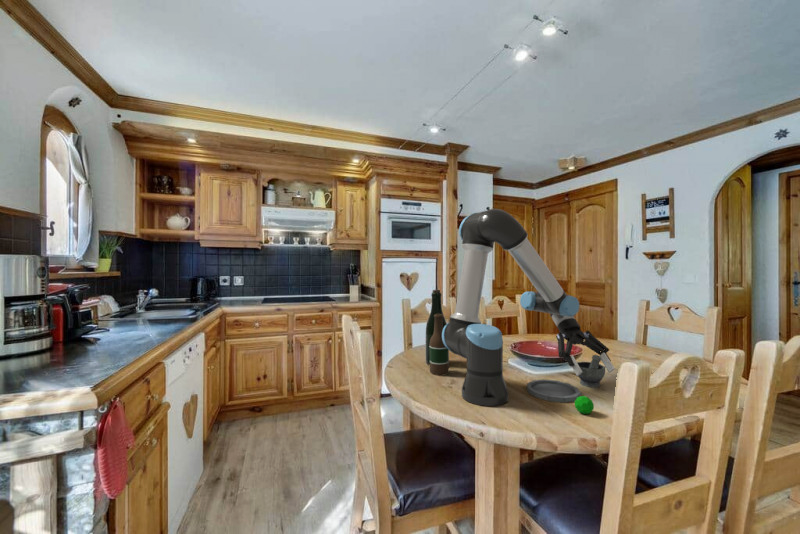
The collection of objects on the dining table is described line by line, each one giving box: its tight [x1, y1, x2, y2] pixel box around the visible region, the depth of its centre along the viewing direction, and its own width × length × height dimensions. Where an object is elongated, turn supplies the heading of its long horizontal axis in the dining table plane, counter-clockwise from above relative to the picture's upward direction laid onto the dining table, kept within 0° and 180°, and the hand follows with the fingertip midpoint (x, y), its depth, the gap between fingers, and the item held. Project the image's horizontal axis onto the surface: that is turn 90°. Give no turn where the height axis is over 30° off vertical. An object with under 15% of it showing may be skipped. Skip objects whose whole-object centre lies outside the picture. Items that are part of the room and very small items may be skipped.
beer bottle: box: [429, 314, 450, 376], centre depth 137 cm, size 8×8×24 cm
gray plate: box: [526, 379, 582, 403], centre depth 115 cm, size 16×16×2 cm
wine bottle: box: [424, 289, 448, 366], centre depth 150 cm, size 10×10×33 cm
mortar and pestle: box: [576, 354, 606, 389], centre depth 121 cm, size 11×9×12 cm
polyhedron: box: [574, 395, 595, 415], centre depth 99 cm, size 5×5×5 cm
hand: (596, 372), depth 118 cm, fingers open, 13 cm apart
